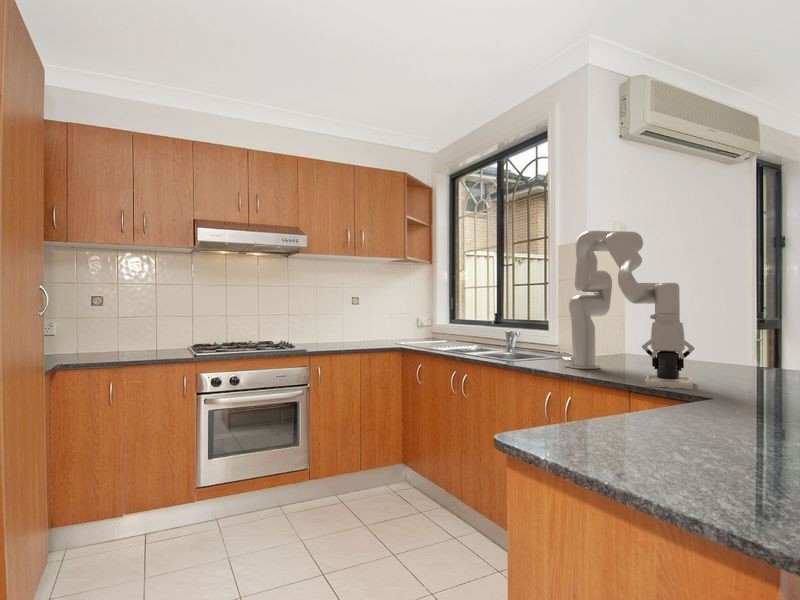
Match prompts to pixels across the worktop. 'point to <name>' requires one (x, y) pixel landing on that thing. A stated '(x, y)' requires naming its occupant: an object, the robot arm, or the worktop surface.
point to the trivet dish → (669, 382)
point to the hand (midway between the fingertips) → (667, 369)
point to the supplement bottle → (668, 365)
